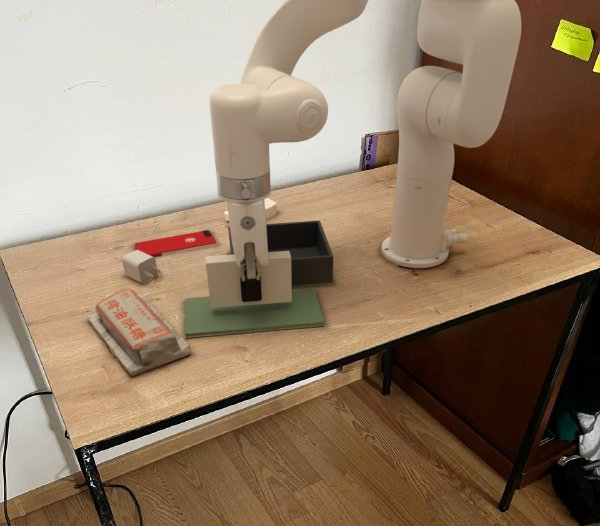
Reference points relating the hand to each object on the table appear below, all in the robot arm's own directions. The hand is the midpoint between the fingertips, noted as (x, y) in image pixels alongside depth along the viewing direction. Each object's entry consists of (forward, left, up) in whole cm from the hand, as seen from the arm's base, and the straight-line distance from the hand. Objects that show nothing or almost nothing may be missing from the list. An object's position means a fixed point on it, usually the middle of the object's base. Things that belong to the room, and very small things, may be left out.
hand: (251, 294), depth 99 cm
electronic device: (+13, -27, -4) cm, 30 cm away
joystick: (-2, -38, -4) cm, 38 cm away
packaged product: (+18, +4, -4) cm, 19 cm away
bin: (-6, -15, -4) cm, 16 cm away
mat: (0, 0, -4) cm, 4 cm away
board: (0, 0, -1) cm, 1 cm away
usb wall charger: (+18, -15, -4) cm, 23 cm away
